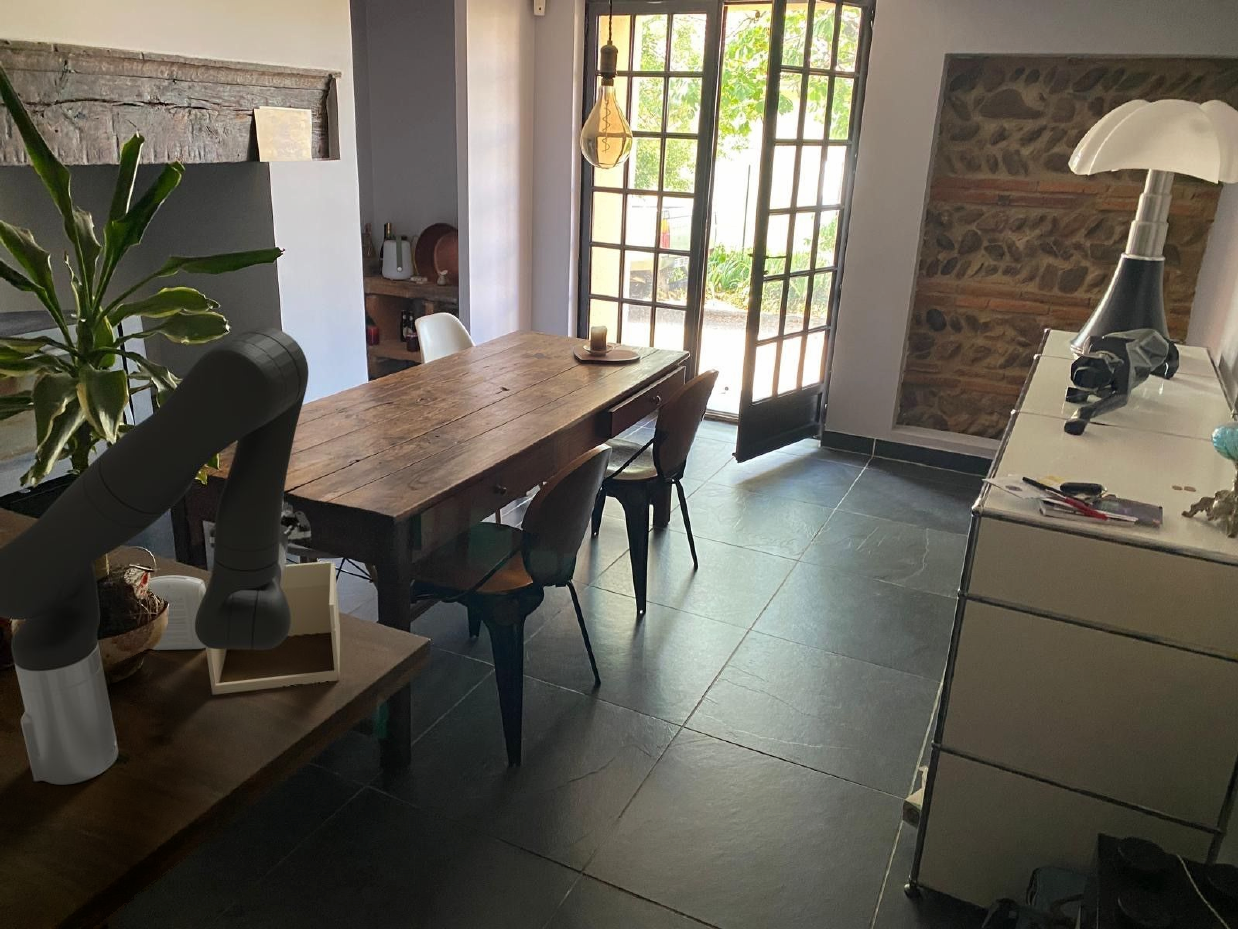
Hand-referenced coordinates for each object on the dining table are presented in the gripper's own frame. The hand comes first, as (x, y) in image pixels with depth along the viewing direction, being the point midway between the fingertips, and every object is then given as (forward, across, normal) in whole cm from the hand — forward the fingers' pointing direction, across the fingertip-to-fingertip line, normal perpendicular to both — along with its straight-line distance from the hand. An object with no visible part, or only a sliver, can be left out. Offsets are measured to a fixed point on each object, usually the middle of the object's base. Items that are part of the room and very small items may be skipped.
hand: (266, 509), depth 141 cm
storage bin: (-3, 0, +25) cm, 25 cm away
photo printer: (+5, +16, +26) cm, 31 cm away
